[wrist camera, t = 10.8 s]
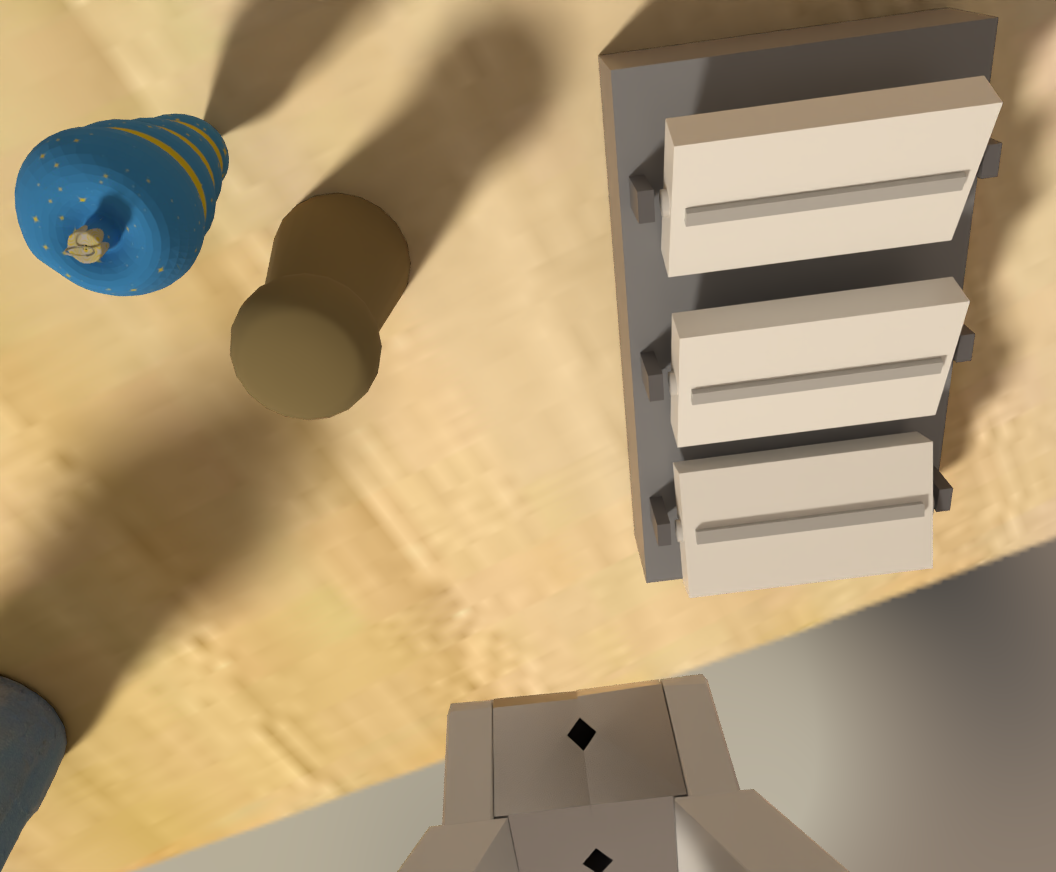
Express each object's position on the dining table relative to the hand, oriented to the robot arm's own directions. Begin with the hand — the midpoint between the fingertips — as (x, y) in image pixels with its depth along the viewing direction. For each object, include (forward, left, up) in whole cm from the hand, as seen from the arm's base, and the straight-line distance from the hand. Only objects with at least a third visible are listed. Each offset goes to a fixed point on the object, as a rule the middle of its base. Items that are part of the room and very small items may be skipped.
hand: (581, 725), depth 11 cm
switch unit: (+9, +11, -31) cm, 34 cm away
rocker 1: (+1, +11, -25) cm, 27 cm away
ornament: (-2, -12, -31) cm, 34 cm away
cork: (+4, -8, -31) cm, 33 cm away
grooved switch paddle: (+16, +11, -25) cm, 32 cm away
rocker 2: (+9, +11, -25) cm, 29 cm away
